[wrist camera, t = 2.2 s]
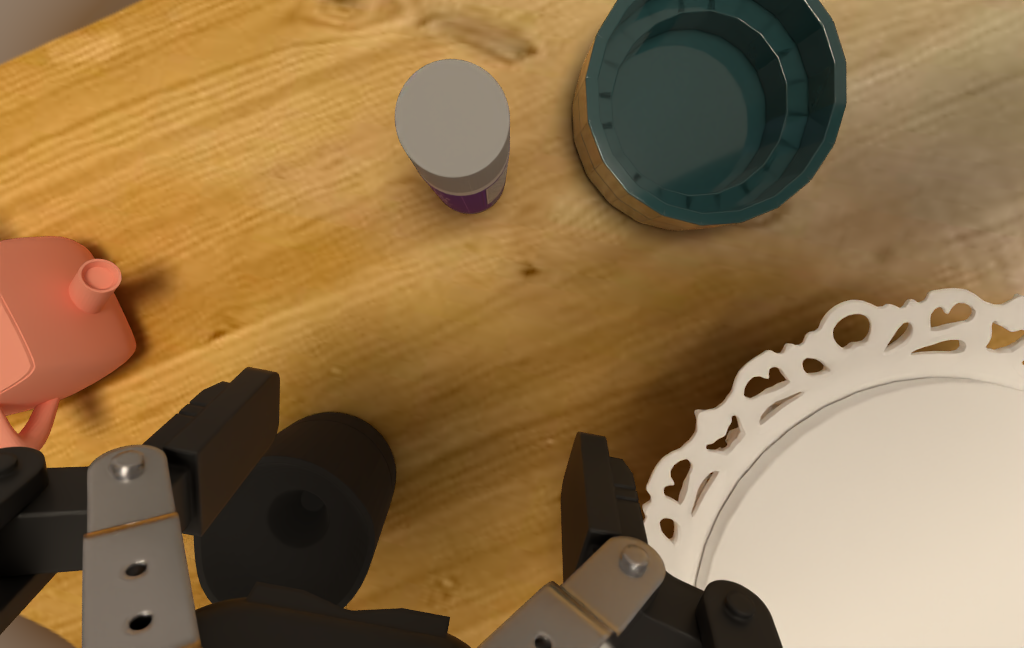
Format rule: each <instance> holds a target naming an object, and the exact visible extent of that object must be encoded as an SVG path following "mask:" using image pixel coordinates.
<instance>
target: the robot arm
mask: <svg viewBox="0 0 1024 648" xmlns="http://www.w3.org/2000/svg"><path fill="white" fill-rule="evenodd" d="M279 400H280V377H279V374H278V373H277V372H272V371H267V370H262V369H256V368H251V367H247V368H245V369H244V370H243V371H242V372H241V373H240V374H239V375H238V376H237V377H236V378H235V379H234V380H233V381H232V382H231V383H228V382H223V381H222V382H220V383H218V384H216V385H213V386H211V387H209V388H207V389H204V390H203V391H202V392H200V393H199V394H198V395H197V396H196V397H195V398H194V399H193V400H191V401H190V404H187V405H186V406H185V407H184V408H183V409H181V410H180V412H179V414H176V415H175V416H174V417H172V418H171V419H170V420H169V421H168V422H167V423H166V424H165V425H164V426H162V427H161V428H160V429H159V430H158V431H157V432H156V433H155V434H153V435H152V436H151V437H150V438H149V439H148V440H147V441H146V442H144V443H143V444H142V445H130V446H124V447H120V448H116V449H113V450H111V451H108V452H106V453H104V454H102V455H101V456H99V457H98V458H96V459H95V460H94V461H93V462H92V463H91V465H90V466H88V467H63V468H47V467H46V462H45V458H44V455H43V454H42V453H41V452H40V451H38V450H36V449H33V448H29V447H5V448H0V634H1V633H2V632H3V631H4V630H5V629H6V628H7V627H8V626H9V625H10V623H11V622H12V621H13V620H14V619H15V618H16V617H17V616H18V615H19V614H20V613H21V611H22V610H23V609H24V608H25V607H26V606H27V605H28V604H29V603H30V602H31V600H32V599H33V598H34V597H35V596H36V595H37V594H38V593H39V592H40V591H41V589H42V588H43V587H44V586H45V585H46V584H47V583H48V582H49V581H50V580H51V579H52V577H53V576H54V575H55V574H56V573H57V572H67V571H79V570H83V582H82V648H471V647H470V646H468V645H467V644H466V643H464V642H463V641H461V640H460V639H458V638H456V637H454V636H452V635H450V634H448V633H447V631H448V626H449V620H450V617H447V616H442V615H436V614H431V613H425V612H420V611H415V610H409V609H404V608H399V609H378V610H358V611H351V610H347V609H344V608H342V607H340V606H338V605H335V604H333V603H331V602H329V601H327V600H325V599H322V598H320V597H318V596H316V595H314V594H312V593H309V592H307V591H305V590H301V589H295V588H290V587H285V586H279V585H274V584H268V583H263V582H258V581H256V583H255V585H254V586H253V588H252V590H251V591H250V593H249V595H248V597H243V598H235V599H229V600H224V601H220V602H216V603H213V604H210V605H207V606H204V607H202V608H199V609H197V610H195V607H194V601H193V595H192V589H191V583H190V578H189V572H188V566H187V560H186V555H185V549H184V543H183V537H182V533H183V534H188V535H194V536H199V537H202V535H203V534H204V533H205V532H206V530H207V529H208V528H209V526H210V525H211V524H212V522H213V521H214V520H215V518H216V517H217V516H218V514H219V513H220V512H221V511H222V509H223V508H224V507H225V505H226V504H227V503H228V501H229V500H230V499H231V497H232V496H233V495H234V493H235V492H236V491H237V489H238V488H239V487H240V486H241V484H242V483H243V482H244V480H245V479H246V478H247V476H248V475H249V474H250V472H251V471H252V470H253V468H254V467H255V466H256V464H257V463H258V462H259V461H260V459H261V458H262V457H263V455H264V454H265V453H266V451H267V450H268V449H269V447H270V446H271V445H272V443H273V441H274V439H275V437H276V434H277V430H278V426H279ZM638 500H639V499H638V495H637V491H636V486H635V481H634V477H633V473H632V472H631V470H630V469H629V468H628V466H627V465H626V464H625V462H624V461H623V460H622V459H619V458H613V457H609V452H608V446H607V440H606V437H604V436H599V435H594V434H589V433H583V432H578V433H577V434H576V437H575V440H574V444H573V447H572V451H571V454H570V458H569V461H568V465H567V468H566V472H565V475H564V479H563V484H562V491H561V524H562V555H563V584H561V585H560V586H559V585H558V584H556V583H555V582H554V581H551V582H549V583H547V584H546V585H544V586H543V587H542V588H541V589H540V590H539V591H538V592H537V593H536V594H534V595H533V596H532V597H531V598H530V599H529V600H528V601H527V602H526V603H525V604H524V605H523V606H521V607H520V608H519V609H518V610H517V611H516V612H515V613H514V614H513V615H512V616H511V617H510V618H508V619H507V620H506V621H505V622H504V623H503V624H502V625H501V626H500V627H499V628H498V629H497V630H495V631H494V632H493V633H492V634H491V635H490V636H489V637H488V638H487V639H486V640H485V641H484V642H482V643H481V644H480V645H479V646H478V647H477V648H783V646H782V643H781V641H780V638H779V635H778V632H777V629H776V627H775V624H774V621H773V618H772V616H771V613H770V611H769V610H768V608H767V606H766V605H765V604H764V602H763V601H762V600H761V599H760V598H759V597H758V596H757V595H756V594H754V593H753V592H752V591H750V590H749V589H747V588H746V587H744V586H742V585H740V584H738V583H735V582H732V581H728V580H715V581H713V582H711V583H709V584H708V585H707V586H706V588H705V590H704V591H703V590H701V589H699V588H697V587H694V586H692V585H690V584H688V583H686V582H684V581H681V580H679V579H678V578H676V577H674V576H672V575H671V574H669V573H668V572H667V571H666V569H665V564H664V562H663V560H662V558H661V557H660V555H659V554H658V553H657V552H656V551H655V550H654V549H653V548H652V547H651V546H650V545H648V541H647V536H646V531H645V527H644V522H643V518H642V513H641V509H640V504H639V503H638Z"/></svg>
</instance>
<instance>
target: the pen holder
mask: <svg viewBox="0 0 1024 648" xmlns="http://www.w3.org/2000/svg"><path fill="white" fill-rule="evenodd" d="M395 483H396V467H395V462H394V458H393V455H392V452H391V450H390V448H389V446H388V444H387V442H386V441H385V440H384V438H383V437H382V436H381V435H380V433H379V432H378V431H377V430H376V429H374V428H373V427H372V426H371V425H369V424H368V423H366V422H365V421H363V420H361V419H359V418H357V417H354V416H351V415H348V414H343V413H334V412H328V413H319V414H314V415H311V416H308V417H305V418H303V419H301V420H299V421H297V422H295V423H293V424H292V425H290V426H289V427H287V428H286V429H284V430H282V431H281V432H279V433H278V434H276V437H275V439H274V441H273V443H272V445H271V446H270V447H269V449H268V450H267V451H266V453H265V454H264V455H263V457H262V458H261V459H260V461H259V462H258V463H257V464H256V466H255V467H254V468H253V470H252V471H251V472H250V474H249V475H248V476H247V478H246V479H245V480H244V482H243V483H242V484H241V486H240V487H239V488H238V489H237V491H236V492H235V493H234V495H233V496H232V497H231V499H230V500H229V501H228V503H227V504H226V505H225V507H224V508H223V509H222V511H221V512H220V513H219V514H218V516H217V517H216V518H215V520H214V521H213V522H212V524H211V525H210V526H209V528H208V529H207V530H206V532H205V533H204V534H203V535H202V537H199V536H194V551H195V562H196V568H197V574H198V578H199V581H200V584H201V587H202V589H203V591H204V593H205V594H206V596H207V598H208V599H209V600H210V601H211V602H212V604H213V603H216V602H220V601H224V600H229V599H235V598H243V597H248V595H249V593H250V591H251V590H252V588H253V586H254V585H255V583H256V581H258V582H263V583H268V584H274V585H279V586H285V587H290V588H295V589H301V590H305V591H307V592H309V593H312V594H314V595H316V596H318V597H320V598H322V599H325V600H327V601H329V602H331V603H333V604H335V605H338V606H340V607H342V608H344V607H345V606H346V605H347V604H348V603H349V602H350V600H351V599H352V598H353V597H354V596H355V594H356V593H357V591H358V590H359V588H360V587H361V585H362V583H363V581H364V579H365V577H366V574H367V572H368V569H369V567H370V564H371V561H372V558H373V555H374V552H375V549H376V546H377V543H378V540H379V537H380V534H381V531H382V528H383V525H384V522H385V519H386V516H387V513H388V510H389V507H390V503H391V500H392V496H393V493H394V488H395Z"/></svg>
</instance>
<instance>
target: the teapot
mask: <svg viewBox="0 0 1024 648" xmlns="http://www.w3.org/2000/svg"><path fill="white" fill-rule="evenodd" d="M121 278H122V276H121V272H120V270H119V268H118V267H117V266H116V265H115V264H113V263H112V262H110V261H108V260H104V259H95V258H94V257H93V255H92V254H91V252H90V251H89V250H88V249H87V248H86V247H85V246H83V245H81V244H79V243H78V242H76V241H74V240H71V239H68V238H64V237H55V236H47V237H26V238H15V239H8V240H2V241H0V448H5V447H29V448H33V449H36V450H38V451H39V450H40V449H41V448H42V447H43V445H44V444H45V442H46V440H47V438H48V436H49V434H50V431H51V428H52V425H53V422H54V419H55V416H56V412H57V408H58V404H59V400H61V399H63V398H66V397H68V396H70V395H72V394H75V393H77V392H78V391H80V390H82V389H84V388H86V387H88V386H90V385H92V384H93V383H95V382H97V381H98V380H100V379H102V378H103V377H105V376H107V375H108V374H110V373H111V372H113V371H114V370H115V369H117V368H118V367H120V366H121V365H122V364H124V363H125V362H126V361H127V360H128V359H129V358H130V357H131V356H132V355H133V353H134V351H135V350H136V342H135V338H134V336H133V333H132V331H131V328H130V326H129V324H128V321H127V319H126V317H125V315H124V313H123V310H122V308H121V306H120V304H119V302H118V300H117V298H116V296H115V294H114V291H115V290H116V288H117V287H118V286H119V284H120V282H121ZM31 409H34V410H33V412H32V414H31V416H30V419H29V421H28V422H27V424H26V425H25V427H24V428H23V429H22V430H21V432H20V433H19V434H18V433H17V432H16V431H15V430H14V429H13V428H12V426H11V425H10V423H9V422H8V420H7V418H6V416H7V415H11V414H15V413H19V412H23V411H27V410H31Z"/></svg>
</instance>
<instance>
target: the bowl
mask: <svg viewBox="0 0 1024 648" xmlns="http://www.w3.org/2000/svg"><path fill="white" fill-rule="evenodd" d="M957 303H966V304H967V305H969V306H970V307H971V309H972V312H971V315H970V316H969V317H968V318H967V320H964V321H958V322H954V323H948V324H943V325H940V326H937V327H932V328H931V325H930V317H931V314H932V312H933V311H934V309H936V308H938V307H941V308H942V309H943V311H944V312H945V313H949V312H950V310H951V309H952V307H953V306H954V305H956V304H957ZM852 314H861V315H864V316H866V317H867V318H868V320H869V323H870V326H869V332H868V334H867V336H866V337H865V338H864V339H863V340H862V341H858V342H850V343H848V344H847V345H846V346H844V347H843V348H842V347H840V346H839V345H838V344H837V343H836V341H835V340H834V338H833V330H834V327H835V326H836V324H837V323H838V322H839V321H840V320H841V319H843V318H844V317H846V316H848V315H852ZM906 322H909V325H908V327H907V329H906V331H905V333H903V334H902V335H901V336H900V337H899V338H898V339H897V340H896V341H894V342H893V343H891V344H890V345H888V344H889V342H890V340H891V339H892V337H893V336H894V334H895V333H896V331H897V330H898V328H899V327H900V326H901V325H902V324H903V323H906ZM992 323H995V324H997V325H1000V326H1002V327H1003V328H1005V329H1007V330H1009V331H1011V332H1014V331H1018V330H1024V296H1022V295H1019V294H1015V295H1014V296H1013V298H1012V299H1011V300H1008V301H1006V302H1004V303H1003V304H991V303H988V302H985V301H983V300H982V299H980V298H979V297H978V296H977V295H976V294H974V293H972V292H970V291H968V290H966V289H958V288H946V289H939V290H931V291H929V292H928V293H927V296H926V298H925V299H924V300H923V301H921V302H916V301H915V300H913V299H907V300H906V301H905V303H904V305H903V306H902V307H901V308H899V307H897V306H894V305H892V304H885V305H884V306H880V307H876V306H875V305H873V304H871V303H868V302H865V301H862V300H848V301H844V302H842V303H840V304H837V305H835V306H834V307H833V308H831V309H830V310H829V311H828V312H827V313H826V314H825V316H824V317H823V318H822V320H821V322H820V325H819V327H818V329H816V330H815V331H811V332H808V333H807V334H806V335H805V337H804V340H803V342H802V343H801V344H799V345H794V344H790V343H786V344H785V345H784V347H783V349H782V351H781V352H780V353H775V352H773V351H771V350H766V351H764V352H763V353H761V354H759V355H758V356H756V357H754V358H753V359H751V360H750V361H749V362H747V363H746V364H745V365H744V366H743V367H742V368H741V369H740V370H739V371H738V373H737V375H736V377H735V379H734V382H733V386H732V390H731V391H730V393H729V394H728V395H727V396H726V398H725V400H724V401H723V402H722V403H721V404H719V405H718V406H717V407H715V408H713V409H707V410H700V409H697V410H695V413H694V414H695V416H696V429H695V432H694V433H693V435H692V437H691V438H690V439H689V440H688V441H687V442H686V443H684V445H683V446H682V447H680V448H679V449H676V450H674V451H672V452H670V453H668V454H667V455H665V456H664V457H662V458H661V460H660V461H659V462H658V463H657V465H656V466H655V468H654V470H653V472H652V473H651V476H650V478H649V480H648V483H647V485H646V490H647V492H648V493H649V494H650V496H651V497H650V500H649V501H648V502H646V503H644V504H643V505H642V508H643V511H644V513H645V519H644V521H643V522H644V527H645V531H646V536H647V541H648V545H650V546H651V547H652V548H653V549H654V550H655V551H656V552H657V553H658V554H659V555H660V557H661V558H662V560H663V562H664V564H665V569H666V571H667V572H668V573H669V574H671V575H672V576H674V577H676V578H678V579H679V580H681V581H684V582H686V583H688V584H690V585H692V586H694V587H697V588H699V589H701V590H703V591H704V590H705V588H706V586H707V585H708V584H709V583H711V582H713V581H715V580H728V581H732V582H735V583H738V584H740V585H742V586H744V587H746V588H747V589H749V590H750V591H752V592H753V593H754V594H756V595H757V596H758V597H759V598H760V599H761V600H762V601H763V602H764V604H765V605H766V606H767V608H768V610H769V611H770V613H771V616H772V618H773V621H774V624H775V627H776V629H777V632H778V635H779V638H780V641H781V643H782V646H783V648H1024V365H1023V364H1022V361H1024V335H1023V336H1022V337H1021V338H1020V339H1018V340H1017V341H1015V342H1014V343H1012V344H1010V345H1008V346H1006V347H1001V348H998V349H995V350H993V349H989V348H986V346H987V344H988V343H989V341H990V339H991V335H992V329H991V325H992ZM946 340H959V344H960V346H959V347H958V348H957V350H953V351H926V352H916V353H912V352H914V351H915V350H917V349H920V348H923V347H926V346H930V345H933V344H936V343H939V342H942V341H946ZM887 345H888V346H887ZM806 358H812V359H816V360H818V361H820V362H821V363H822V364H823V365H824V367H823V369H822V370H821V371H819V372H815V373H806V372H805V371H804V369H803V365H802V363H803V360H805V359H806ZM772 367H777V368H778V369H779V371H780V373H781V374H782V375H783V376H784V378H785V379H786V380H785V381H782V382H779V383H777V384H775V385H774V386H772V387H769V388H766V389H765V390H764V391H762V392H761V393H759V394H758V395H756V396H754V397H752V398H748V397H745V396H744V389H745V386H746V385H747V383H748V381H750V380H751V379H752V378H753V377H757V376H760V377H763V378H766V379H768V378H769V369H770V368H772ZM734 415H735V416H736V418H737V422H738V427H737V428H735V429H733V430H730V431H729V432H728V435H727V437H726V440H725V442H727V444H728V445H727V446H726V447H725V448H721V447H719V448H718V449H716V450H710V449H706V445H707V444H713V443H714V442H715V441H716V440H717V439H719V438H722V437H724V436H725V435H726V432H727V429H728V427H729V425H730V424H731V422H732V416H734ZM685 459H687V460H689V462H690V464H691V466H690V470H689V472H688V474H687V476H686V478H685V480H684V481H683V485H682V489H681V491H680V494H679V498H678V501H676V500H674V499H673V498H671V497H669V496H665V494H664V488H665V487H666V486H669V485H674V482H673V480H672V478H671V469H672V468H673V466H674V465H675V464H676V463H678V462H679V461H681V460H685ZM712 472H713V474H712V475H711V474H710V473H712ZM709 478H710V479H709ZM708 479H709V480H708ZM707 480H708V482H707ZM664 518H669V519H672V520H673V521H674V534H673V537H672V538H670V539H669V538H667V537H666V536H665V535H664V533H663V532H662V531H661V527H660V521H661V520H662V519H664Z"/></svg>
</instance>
